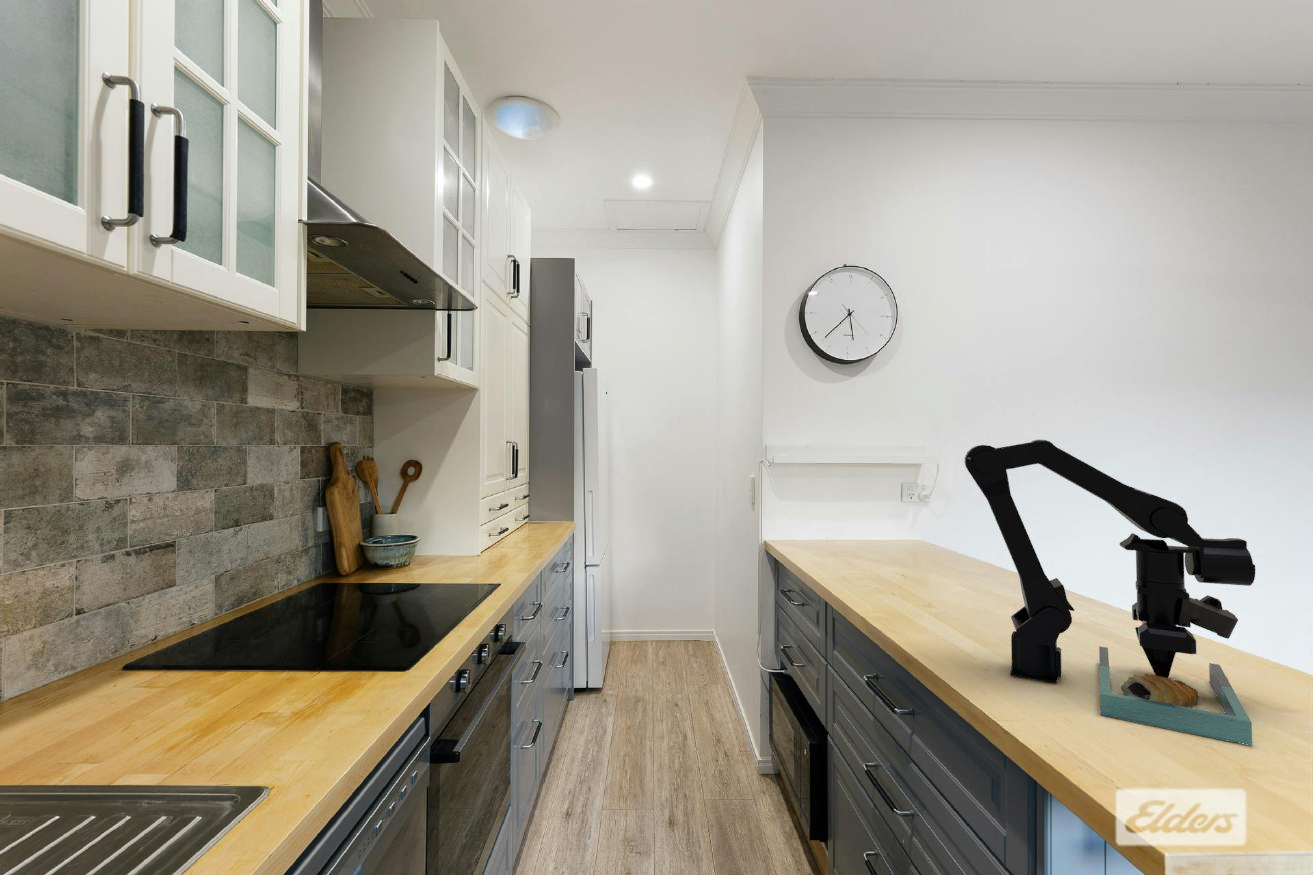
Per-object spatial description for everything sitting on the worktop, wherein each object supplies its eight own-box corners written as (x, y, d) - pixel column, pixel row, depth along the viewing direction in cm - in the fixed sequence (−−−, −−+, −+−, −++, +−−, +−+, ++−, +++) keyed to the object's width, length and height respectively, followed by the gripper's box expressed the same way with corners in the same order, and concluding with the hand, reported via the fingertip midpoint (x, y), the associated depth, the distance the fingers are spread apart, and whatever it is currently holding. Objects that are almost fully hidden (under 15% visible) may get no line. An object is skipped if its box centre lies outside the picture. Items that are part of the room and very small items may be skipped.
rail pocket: (1100, 714, 85) (1100, 693, 85) (1099, 663, 105) (1099, 646, 105) (1252, 746, 76) (1251, 722, 76) (1219, 683, 96) (1219, 664, 96)
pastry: (1169, 690, 94) (1168, 665, 94) (1215, 709, 87) (1215, 683, 87) (1116, 694, 92) (1116, 669, 92) (1160, 714, 86) (1159, 687, 86)
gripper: (1245, 600, 81) (1247, 717, 81) (1219, 574, 96) (1221, 672, 96) (1139, 589, 87) (1141, 697, 87) (1130, 566, 103) (1132, 658, 103)
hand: (1162, 680), depth 93 cm, fingers closed
